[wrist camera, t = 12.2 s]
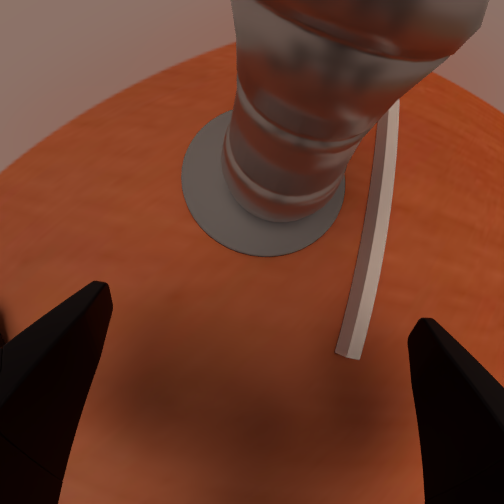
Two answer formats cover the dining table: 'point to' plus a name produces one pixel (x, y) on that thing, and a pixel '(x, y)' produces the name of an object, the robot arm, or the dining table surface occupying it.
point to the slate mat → (232, 213)
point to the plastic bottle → (324, 89)
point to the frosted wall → (371, 238)
